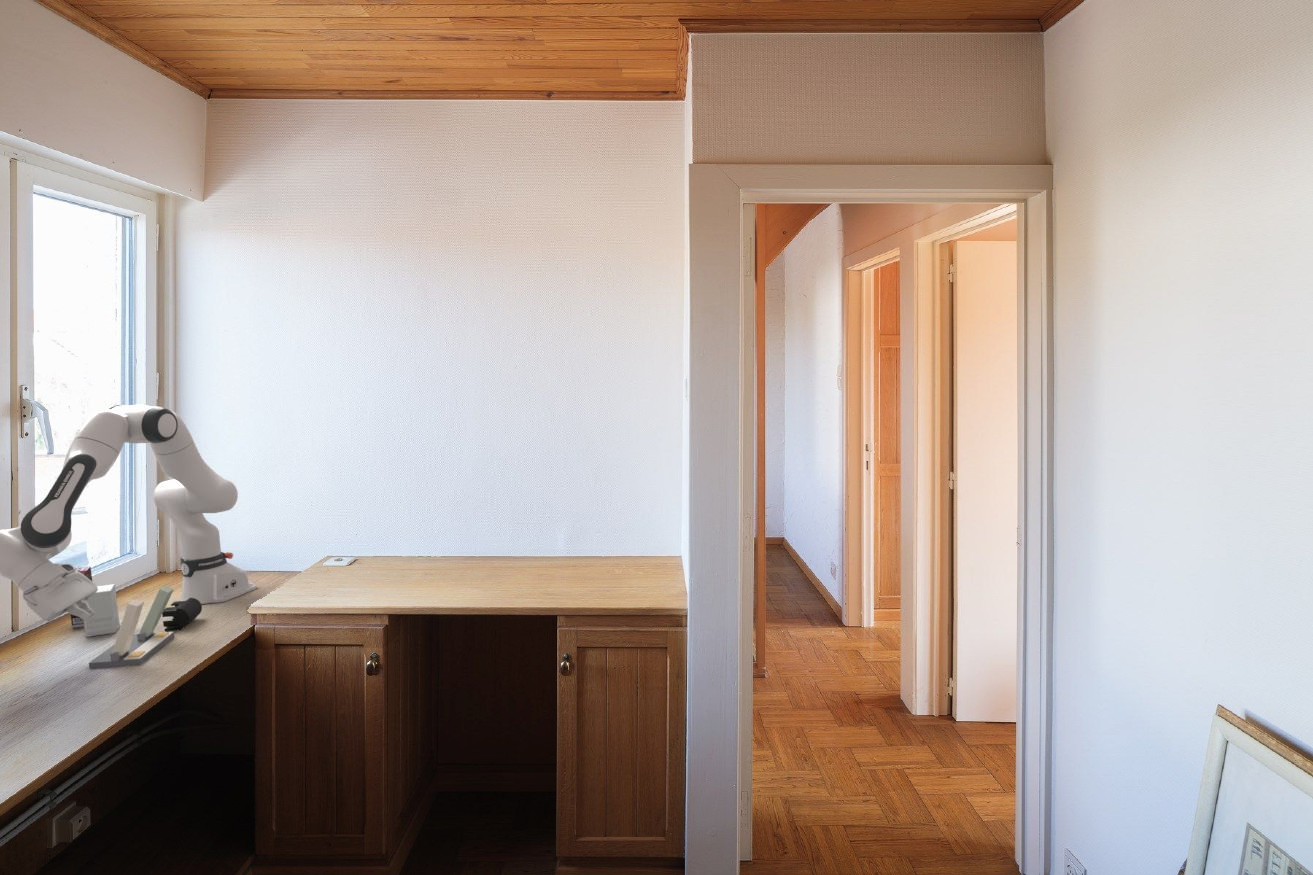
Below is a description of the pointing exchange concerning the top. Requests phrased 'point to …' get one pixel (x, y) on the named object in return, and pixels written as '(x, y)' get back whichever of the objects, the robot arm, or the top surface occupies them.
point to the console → (133, 651)
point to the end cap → (181, 614)
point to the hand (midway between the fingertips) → (90, 616)
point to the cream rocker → (128, 627)
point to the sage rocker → (156, 610)
